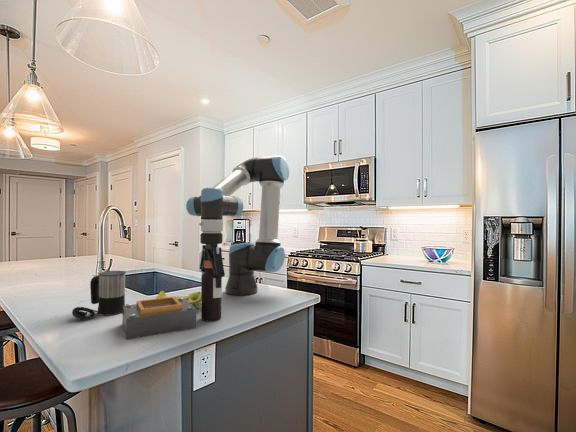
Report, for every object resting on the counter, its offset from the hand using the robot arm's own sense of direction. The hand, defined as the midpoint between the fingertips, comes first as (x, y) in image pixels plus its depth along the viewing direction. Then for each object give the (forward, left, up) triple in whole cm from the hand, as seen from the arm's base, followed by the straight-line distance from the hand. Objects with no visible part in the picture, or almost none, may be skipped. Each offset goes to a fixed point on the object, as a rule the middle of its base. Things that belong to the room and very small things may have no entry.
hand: (211, 293), depth 112 cm
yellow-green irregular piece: (+6, -20, -9) cm, 22 cm away
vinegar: (0, 0, -9) cm, 9 cm away
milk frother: (+33, -25, -9) cm, 42 cm away
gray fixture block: (+17, -1, -9) cm, 19 cm away
